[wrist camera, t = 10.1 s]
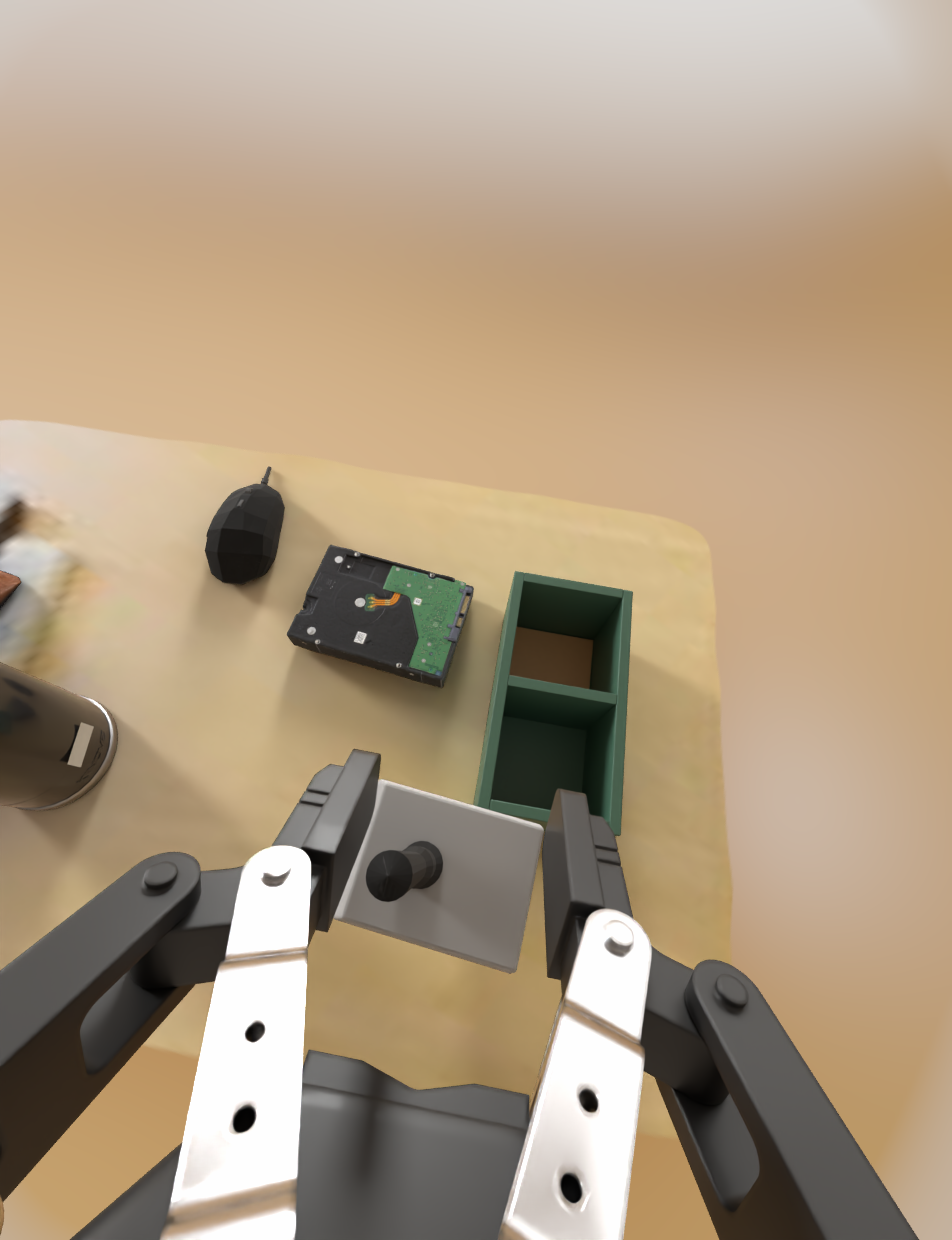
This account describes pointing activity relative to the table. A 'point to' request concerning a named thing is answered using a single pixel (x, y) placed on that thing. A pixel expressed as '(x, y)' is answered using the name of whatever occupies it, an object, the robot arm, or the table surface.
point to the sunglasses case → (7, 586)
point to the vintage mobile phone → (444, 876)
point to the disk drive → (383, 615)
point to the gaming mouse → (245, 533)
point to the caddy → (558, 700)
